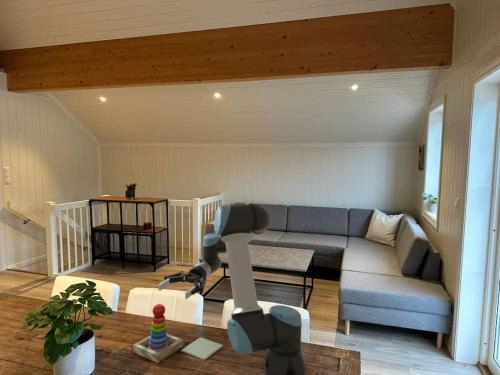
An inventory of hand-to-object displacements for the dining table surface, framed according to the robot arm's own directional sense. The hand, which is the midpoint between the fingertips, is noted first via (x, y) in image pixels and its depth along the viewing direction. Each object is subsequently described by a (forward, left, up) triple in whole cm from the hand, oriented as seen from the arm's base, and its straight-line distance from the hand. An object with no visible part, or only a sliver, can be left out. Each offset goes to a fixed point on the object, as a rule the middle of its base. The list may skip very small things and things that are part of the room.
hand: (172, 291), depth 143 cm
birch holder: (+2, +6, -23) cm, 23 cm away
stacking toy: (+2, +6, -23) cm, 24 cm away
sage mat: (-13, -4, -23) cm, 26 cm away
